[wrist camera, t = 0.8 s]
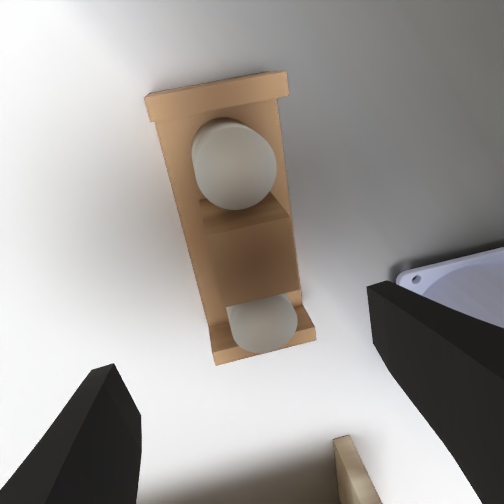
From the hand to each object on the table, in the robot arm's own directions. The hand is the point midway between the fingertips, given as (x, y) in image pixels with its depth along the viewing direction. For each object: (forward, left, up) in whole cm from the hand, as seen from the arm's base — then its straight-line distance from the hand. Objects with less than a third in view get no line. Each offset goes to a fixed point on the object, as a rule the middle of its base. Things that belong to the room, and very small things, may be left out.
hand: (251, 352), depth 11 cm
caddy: (-1, -1, -10) cm, 10 cm away
